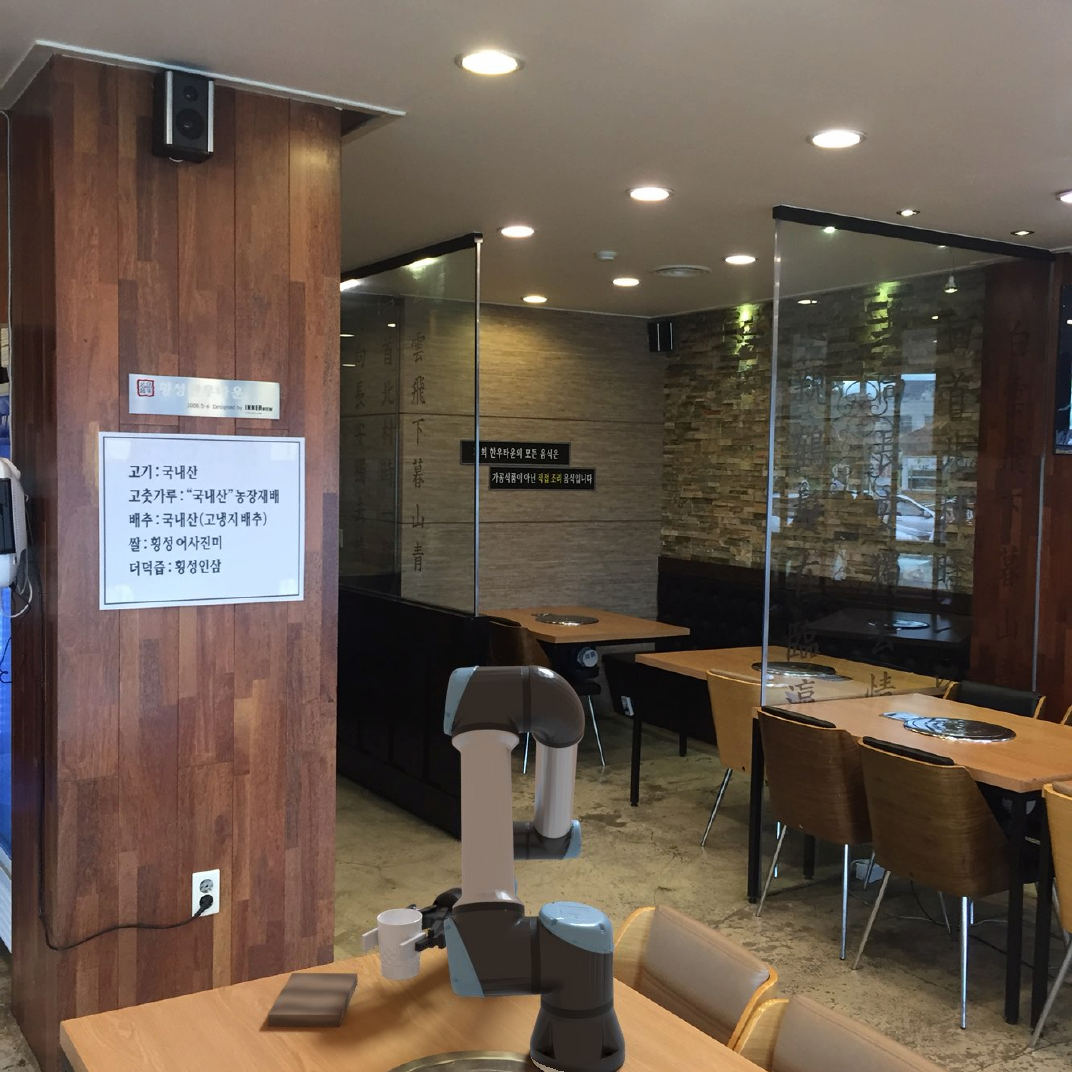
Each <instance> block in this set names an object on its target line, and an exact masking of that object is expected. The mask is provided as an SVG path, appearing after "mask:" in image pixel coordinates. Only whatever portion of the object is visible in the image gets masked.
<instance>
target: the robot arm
mask: <svg viewBox="0 0 1072 1072" xmlns="http://www.w3.org/2000/svg"><path fill="white" fill-rule="evenodd" d="M448 680H449V681H448V685H447V691H446V697H445V698H446V699H445V707H444V719H443V732H444V734H445V735H448V736H449V737H450V736H451V744H452V746H453V747H454V748H455V749H456V750H458V751H459V753H460V774H461V775H460V779H461V780H460V783H461V784H460V785H461V786H460V787H461V788H460V791H461V793H460V794H461V795H460V796H461V797H460V798H461V799H460V800H461V801H460V802H461V805H460V806H461V808H460V809H461V811H460V812H461V817H460V818H461V821H460V822H461V883H459V884H458V885H456V886H453V887H451V888H449V889H447V890H445V891H444V892H442V893H440V894H438V896H436V898H435V899H434V901H433V903H432V904H431V905H428V906H425V907H423V908H422V909H421V908H417V904H415V903H411V904H409V905H408V906H406V907H404V908H403V909H413V910H416V911H419V912H420V913H421V914H422V933H420V934H418V935H417V936H415V937H413V938H411V939H409V940H407V941H405V942H403V943H401V944H400V945H399V960H400V961H404V960H406V959H408V958H410V957H412V956H413V955H415V954H417V953H419V952H421V953H422V952H423V951H425V950H427V949H434V948H435V947H437V949H439V950H443V949H445V948H446V955H447V962H448V969H449V971H448V972H449V977H450V986H451V989H452V991H453V993H455V995H457V996H459V997H463V998H480V999H484V998H485V997H491V998H492V997H511V996H536V995H540V999H539V1000H540V1004H539V1005H540V1007H539V1011H538V1014H537V1017H536V1020H535V1023H534V1026H533V1030H532V1033H531V1036H530V1041H529V1056H531V1057H532V1059H533V1060H535V1061H536V1062H538V1063H539V1064H542V1065H545V1066H546V1067H550V1068H553V1069H556V1070H558V1071H564V1072H615V1071H617V1070H618V1069H619V1068H620V1067H621V1066H622V1065H623V1063H624V1061H625V1060H626V1041H625V1037H624V1033H623V1030H622V1028H621V1025H620V1022H619V1019H618V1016H617V1012H616V1009H615V1005H614V998H615V997H614V995H615V994H614V991H615V990H614V986H615V985H614V951H615V942H614V935H613V934H614V933H613V925H612V922H611V919H610V918H609V916H608V915H607V914H605V913H604V912H603V911H602V910H600V909H598V908H596V907H593V906H591V905H590V904H589V905H588V904H584V903H581V902H575V901H565V900H564V901H562V900H559V901H553V902H552V903H549V902H547V903H546V904H544V905H542V906H541V907H540V909H539V912H538V915H537V916H535V915H534V916H533V915H532V916H530V915H529V916H526V914H525V913H526V910H525V909H526V908H525V903H524V902H523V901H522V900H521V899H520V898H519V897H518V896H517V892H518V881H517V879H516V877H515V861H545V860H546V861H549V860H551V861H552V860H553V861H554V860H555V861H556V860H557V861H563V860H568V859H577V858H578V857H580V856H581V853H582V827H581V823H580V821H579V820H577V819H573V818H574V817H573V815H574V801H575V787H576V786H575V785H576V770H577V760H578V759H577V757H578V745H579V743H580V742H581V740H582V739H583V737H584V734H585V726H586V724H585V721H586V720H585V719H586V717H585V711H584V708H583V704H582V702H581V700H580V698H579V696H578V694H577V693H576V691H575V689H574V688H573V687H572V686H571V684H570V683H569V682H568V681H567V680H566V679H565V678H564V677H563V676H561V675H560V674H558V673H557V672H556V671H553V670H552V669H550V668H547V667H545V666H541V665H526V666H525V665H521V666H520V665H515V666H509V665H508V666H505V665H503V666H479V665H475V666H471V667H460V668H455V670H453V671H452V672H451V674H450V676H449V679H448ZM522 733H531V735H532V737H533V739H534V740H535V743H536V747H535V750H536V751H535V778H534V779H535V780H534V804H533V805H534V809H533V820H513V790H512V789H513V787H512V786H513V785H512V783H513V782H512V754H511V753H512V751H513V749H514V748H515V747H516V746H517V745H519V744H520V734H522ZM425 930H427V932H424V931H425ZM377 946H379V944H378V927H377V926H376V927H375V928H373V929H371V930H370V931H368V932H366V933H363V934H361V951H362V952H367V951H369V950H371V949H373V948H375V947H377Z"/></svg>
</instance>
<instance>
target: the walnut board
mask: <svg viewBox="0 0 1072 1072" xmlns="http://www.w3.org/2000/svg"><path fill="white" fill-rule="evenodd" d="M358 978H359V977H358V972H356V973H355V972H353V973H352V972H350V973H349V972H343V973H341V972H337V973H335V972H332V973H331V972H320V973H319V972H317V973H316V972H312V973H311V972H309V973H308V972H292V973H291V974H290V976H289V978H288V980H287V981H286V983H285V985H284V987H283V989H281V991H280V994H279V995H278V997H277V999H276V1000H275V1002H274V1003H273V1006H272V1007H271V1009H270V1011H269V1012H268V1013H267V1018H268V1019H267V1021H268V1022H267V1024H268V1027H329V1028H330V1027H335V1028H336V1027H338V1028H339V1027H341V1026H340V1025H341V1023H342V1021H343V1019H344V1016H345V1014H346V1012H347V1010H348V1007H349V1005H350V1003H351V1000H352V998H353V996H352V995H354V994H353V993H355V991H356V989H355V988H357V987H356V986H358V984H357V983H358V982H359V981H358Z"/></svg>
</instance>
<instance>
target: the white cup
mask: <svg viewBox="0 0 1072 1072" xmlns="http://www.w3.org/2000/svg"><path fill="white" fill-rule="evenodd" d="M377 927H378V944H379V945H378V952H379V960H380V962H379V963H380V973H381V977H382V978H384V979H387V980H391V981H405V980H410V979H412V978H414V977H417V976H418V975H419V973H420V972H421V969H420V968H421V966H420V965H421V953H422V951H421V952H419V953H417V954H415V955H413V956H412V957H410V958H408V959H406V960H404V961H400V960H399V945H400V944H401V943H403V942H405V941H407V940H409V939H411V938H413V937H415V936H417V935H418V934H420V933H422V932H423V930H422V914H421V913H420V912H419V911H416V910H413V909H404V908H394V909H393V908H392V909H388V910H385V911H382V912H381V913H379V914H378V915H377V917H376V928H377Z"/></svg>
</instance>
